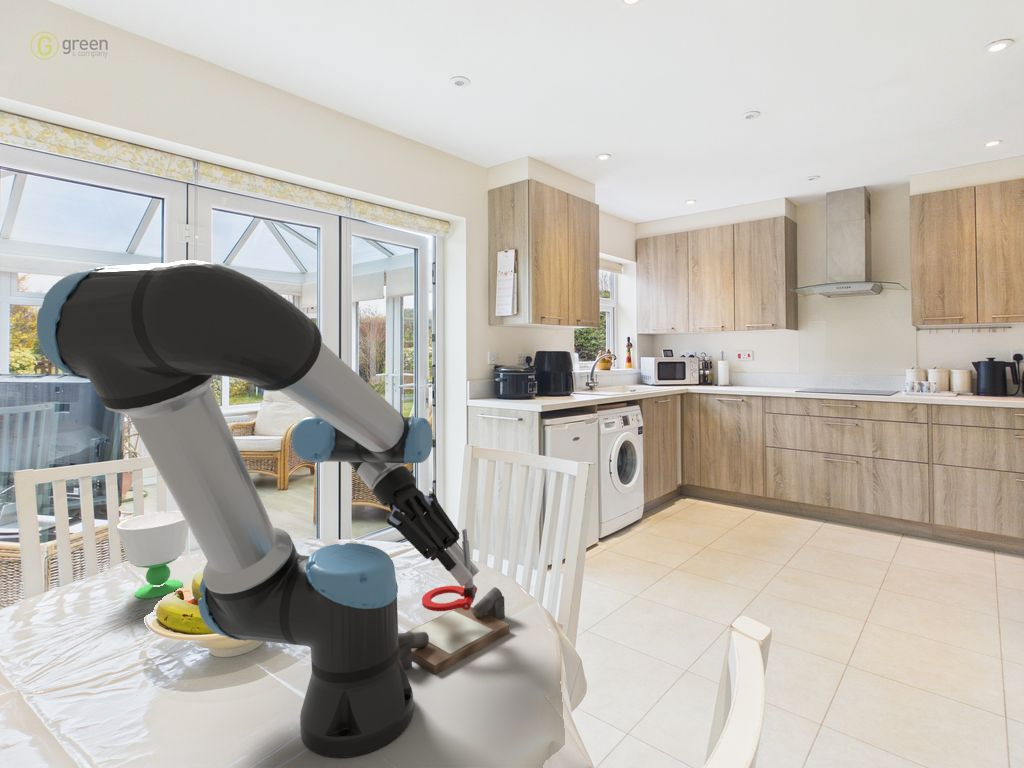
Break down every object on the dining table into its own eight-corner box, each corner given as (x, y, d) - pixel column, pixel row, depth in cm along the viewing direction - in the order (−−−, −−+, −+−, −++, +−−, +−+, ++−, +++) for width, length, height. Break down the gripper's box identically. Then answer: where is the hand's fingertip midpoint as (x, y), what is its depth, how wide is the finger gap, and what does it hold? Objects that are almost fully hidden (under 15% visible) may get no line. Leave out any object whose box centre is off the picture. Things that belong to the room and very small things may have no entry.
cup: (117, 589, 120) (112, 519, 119) (187, 571, 129) (183, 507, 128) (125, 610, 110) (120, 534, 109) (201, 589, 119) (197, 519, 118)
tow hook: (416, 614, 91) (470, 613, 90) (410, 539, 90) (464, 537, 89) (429, 592, 99) (478, 591, 98) (423, 523, 99) (473, 521, 98)
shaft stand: (416, 685, 82) (415, 649, 82) (373, 656, 91) (372, 623, 90) (522, 624, 100) (521, 595, 100) (478, 605, 108) (477, 577, 108)
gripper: (399, 481, 107) (476, 574, 102) (350, 501, 94) (436, 610, 88) (421, 456, 105) (501, 551, 99) (373, 473, 91) (463, 583, 86)
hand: (470, 578), depth 94 cm, fingers closed on tow hook, 2 cm apart
